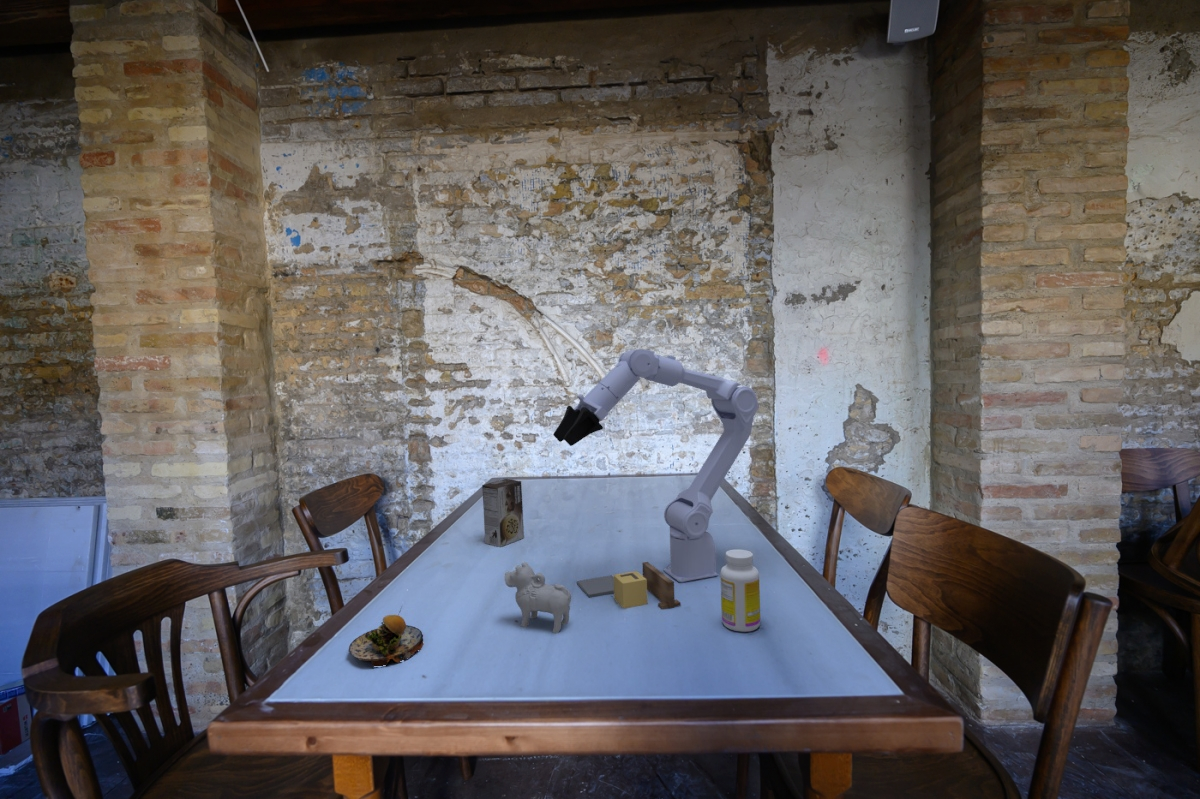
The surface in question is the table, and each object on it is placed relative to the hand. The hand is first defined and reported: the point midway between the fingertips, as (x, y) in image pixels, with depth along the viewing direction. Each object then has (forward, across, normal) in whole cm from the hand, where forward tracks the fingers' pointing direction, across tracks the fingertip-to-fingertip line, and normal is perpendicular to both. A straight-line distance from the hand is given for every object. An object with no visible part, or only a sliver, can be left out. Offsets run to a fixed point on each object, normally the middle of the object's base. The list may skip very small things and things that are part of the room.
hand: (561, 440), depth 112 cm
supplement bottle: (+3, +25, +40) cm, 48 cm away
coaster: (+15, -1, +29) cm, 33 cm away
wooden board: (+9, +8, +35) cm, 37 cm away
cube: (+13, +8, +31) cm, 35 cm away
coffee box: (+25, -42, +20) cm, 53 cm away
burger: (+47, +9, +2) cm, 48 cm away
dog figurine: (+28, +10, +19) cm, 35 cm away
